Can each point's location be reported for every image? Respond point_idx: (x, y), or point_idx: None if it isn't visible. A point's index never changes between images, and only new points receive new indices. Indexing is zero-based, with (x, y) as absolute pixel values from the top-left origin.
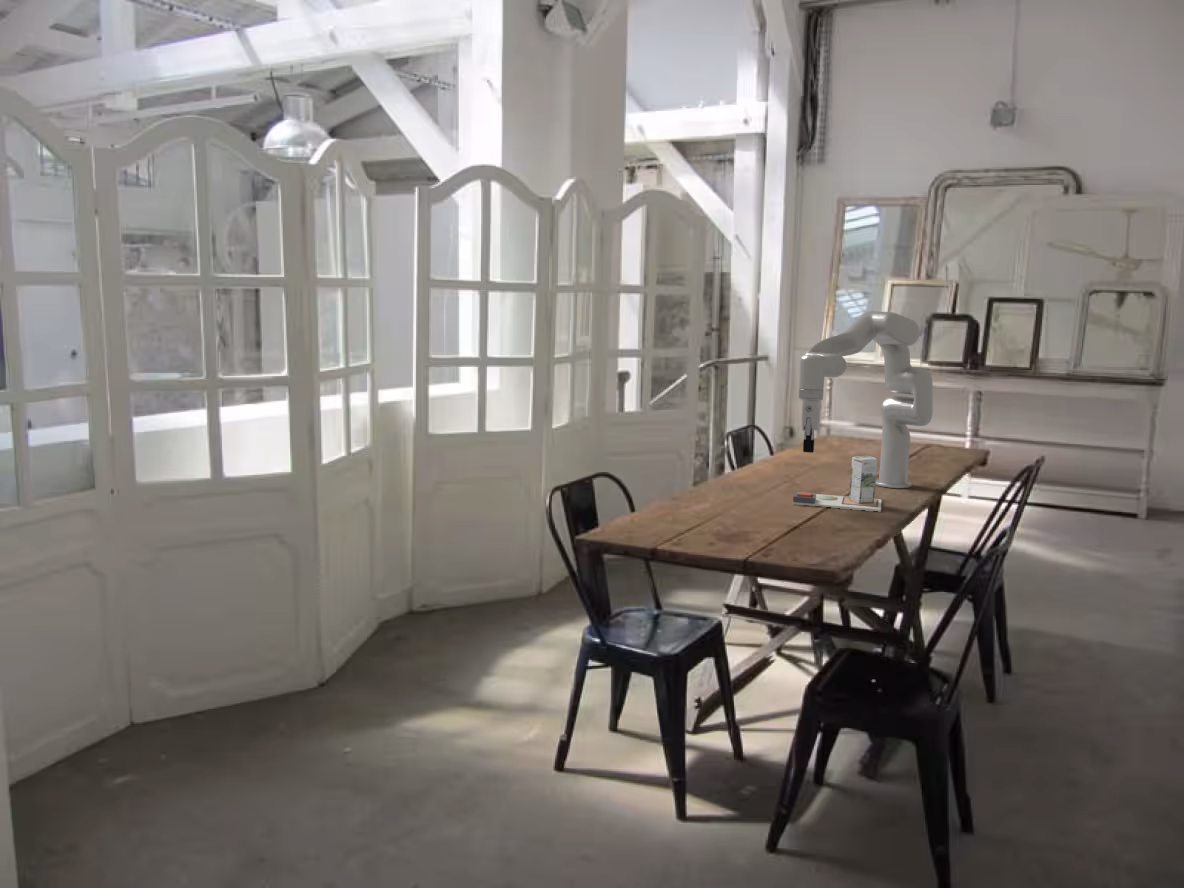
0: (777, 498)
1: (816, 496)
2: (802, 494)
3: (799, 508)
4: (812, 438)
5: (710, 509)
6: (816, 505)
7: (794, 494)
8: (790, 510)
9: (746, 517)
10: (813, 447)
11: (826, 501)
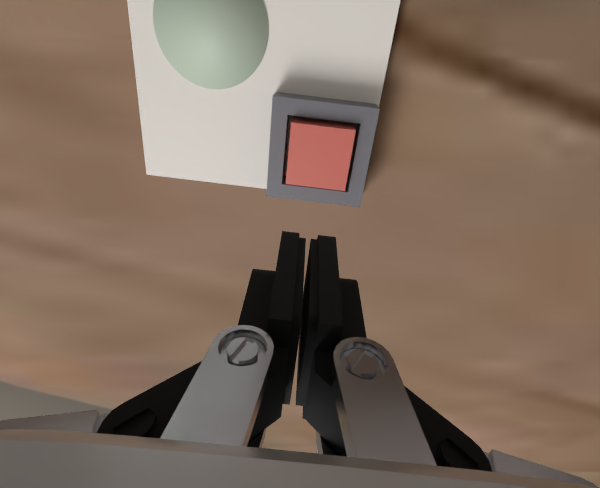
0: (255, 244)
1: (202, 85)
2: (347, 170)
3: (428, 169)
4: (393, 371)
5: (475, 411)
6: (381, 91)
7: (312, 201)
8: (471, 205)
9: (589, 338)
10: (336, 263)
11: (303, 34)
